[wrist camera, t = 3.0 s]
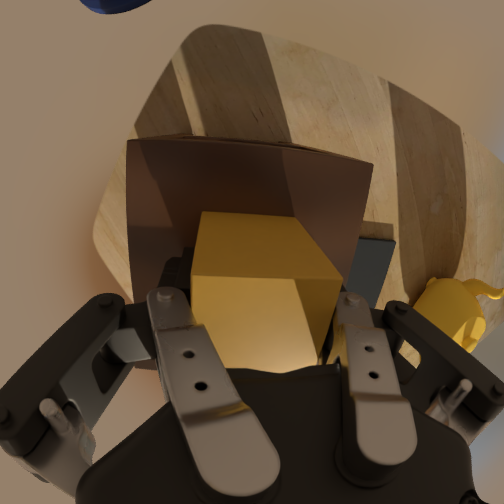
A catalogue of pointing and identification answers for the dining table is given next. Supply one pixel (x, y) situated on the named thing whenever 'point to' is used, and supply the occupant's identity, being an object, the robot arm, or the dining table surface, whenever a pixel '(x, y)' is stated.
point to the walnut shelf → (235, 197)
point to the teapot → (456, 308)
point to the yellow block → (262, 290)
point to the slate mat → (370, 268)
